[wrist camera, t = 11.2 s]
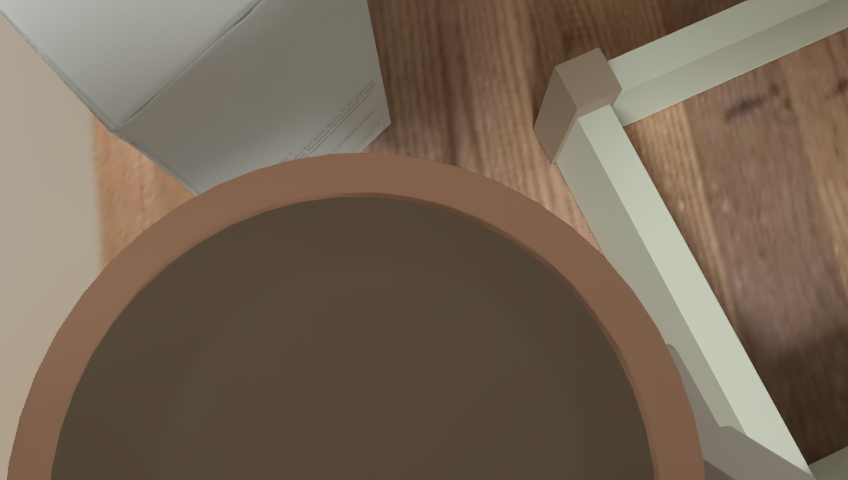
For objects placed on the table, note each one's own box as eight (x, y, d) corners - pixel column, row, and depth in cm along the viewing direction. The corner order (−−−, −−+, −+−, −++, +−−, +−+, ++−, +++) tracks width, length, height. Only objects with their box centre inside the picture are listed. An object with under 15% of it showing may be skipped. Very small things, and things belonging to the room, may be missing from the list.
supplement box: (272, 7, 30) (154, -268, 18) (396, 125, 29) (363, -82, 16) (136, 126, 29) (-91, -78, 17) (259, 254, 28) (112, 137, 15)
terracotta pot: (606, 505, 15) (863, 674, 6) (332, 650, 14) (148, 1081, 5) (468, 240, 16) (501, 40, 7) (212, 367, 16) (-103, 326, 7)
